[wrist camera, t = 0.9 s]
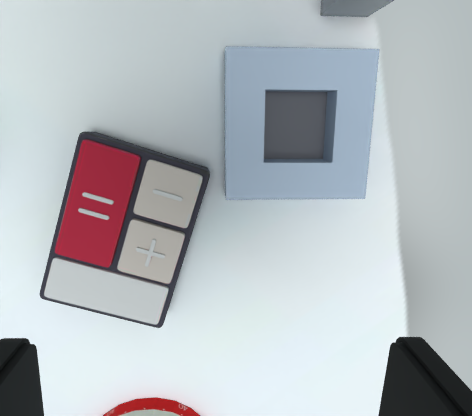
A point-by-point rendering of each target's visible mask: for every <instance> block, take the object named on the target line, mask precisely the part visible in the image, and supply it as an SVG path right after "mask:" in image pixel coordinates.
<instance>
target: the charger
mask: <svg viewBox="0 0 472 416" xmlns="http://www.w3.org/2000/svg"><path fill="white" fill-rule="evenodd" d="M392 1H394V0H321V16H352V17H368V16H370V15H371V14H373V13H374V12H376V11H378V10H379V9H381V8H382V7H384V6H386V5H387V4H389V3H390V2H392Z"/></svg>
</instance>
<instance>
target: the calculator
mask: <svg viewBox="0 0 472 416" xmlns="http://www.w3.org/2000/svg"><path fill="white" fill-rule="evenodd" d="M209 176H210V173H209V170H208V168H206V167H203V166H200V165H197V164H194V163H191V162H188V161H185V160H181V159H178V158H175V157H172V156H169V155H166V154H162V153H159V152H156V151H153V150H150V149H147V148H144V147H140V146H137V145H134V144H131V143H128V142H125V141H122V140H118V139H115V138H112V137H109V136H106V135H103V134H99V133H96V132H82V133H80V135H79V137H78V141H77V145H76V149H75V153H74V157H73V161H72V165H71V169H70V173H69V178H68V182H67V186H66V190H65V194H64V198H63V202H62V206H61V210H60V214H59V218H58V222H57V226H56V230H55V234H54V238H53V242H52V246H51V250H50V254H49V258H48V262H47V266H46V270H45V274H44V278H43V282H42V286H41V290H40V297H41V298H42V299H45V300H49V301H53V302H56V303H60V304H64V305H68V306H72V307H76V308H80V309H84V310H88V311H92V312H96V313H100V314H104V315H108V316H112V317H116V318H120V319H124V320H128V321H132V322H136V323H140V324H144V325H148V326H152V327H156V328H160V327H161V326H162V325H163V323H164V320H165V317H166V314H167V311H168V308H169V304H170V301H171V298H172V295H173V292H174V288H175V285H176V282H177V279H178V276H179V272H180V269H181V266H182V263H183V260H184V257H185V253H186V250H187V247H188V244H189V241H190V237H191V234H192V231H193V228H194V225H195V221H196V218H197V215H198V212H199V209H200V206H201V202H202V199H203V196H204V193H205V190H206V186H207V183H208V180H209Z"/></svg>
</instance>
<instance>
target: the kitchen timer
mask: <svg viewBox="0 0 472 416" xmlns="http://www.w3.org/2000/svg"><path fill="white" fill-rule="evenodd" d="M103 416H200V415H199V414H198V413H196V412H195V411H194V410H193V409H192V408H190V407H188V406H185V405H183V404H181V403H179V402H176V401H173V400H167V399H161V398H143V399H135V400H132V401H129V402H126V403H123V404H120V405H118V406H117V407H115V408H113V409H112V410H110V411H109V412H107V413H106V414H104V415H103Z"/></svg>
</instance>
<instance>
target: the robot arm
mask: <svg viewBox="0 0 472 416" xmlns="http://www.w3.org/2000/svg"><path fill="white" fill-rule="evenodd" d="M0 416H44V411H43V402H42V393H41V384H40V375H39V366H38V357H37V349H36V346H35V345H34V344H30V342H29V340H28V339H26V338H4V339H1V340H0ZM379 416H472V391H471V390H470V389H469V388H468V387H467V386H466V385H465V383H464V382H463V381H462V380H461V379H460V378H459V377H458V376H457V375H456V374H455V373H454V371H453V370H452V369H450V367H449V366H448V365H447V364H446V363H445V362H444V361H443V360H442V359H441V357H440V356H439V355H438V354H437V353H436V352H435V351H434V350H433V349H432V348H431V347H430V346H429V345H428V343H426V341H425V340H424V339H422V338H421V337H399V338H398V339H397V340H396V343H392V344H391V346H390V351H389V357H388V363H387V369H386V375H385V380H384V386H383V392H382V398H381V404H380V410H379Z"/></svg>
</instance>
